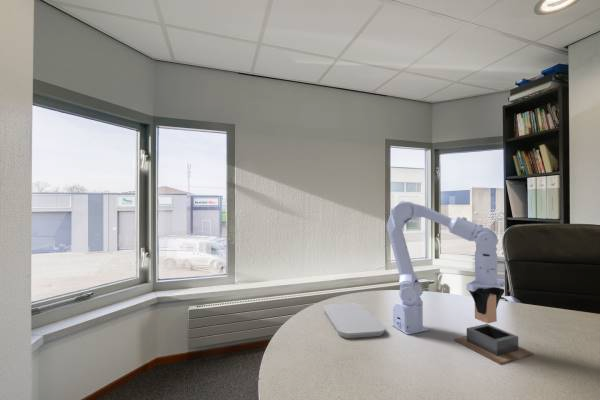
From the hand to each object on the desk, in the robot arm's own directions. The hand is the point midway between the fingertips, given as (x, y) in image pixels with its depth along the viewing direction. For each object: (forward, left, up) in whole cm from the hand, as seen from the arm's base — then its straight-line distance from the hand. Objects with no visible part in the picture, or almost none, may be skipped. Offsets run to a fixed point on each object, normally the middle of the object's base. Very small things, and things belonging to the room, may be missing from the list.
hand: (486, 312), depth 85 cm
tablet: (-30, +29, -11) cm, 43 cm away
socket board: (0, -2, -10) cm, 10 cm away
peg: (0, 0, -3) cm, 3 cm away
